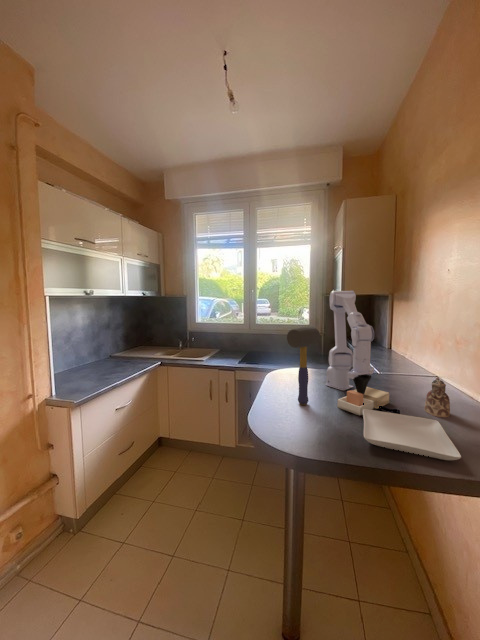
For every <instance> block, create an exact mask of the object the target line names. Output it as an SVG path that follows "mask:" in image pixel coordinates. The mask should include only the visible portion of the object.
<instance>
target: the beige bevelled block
mask: <svg viewBox="0 0 480 640" xmlns="http://www.w3.org/2000/svg"><path fill="white" fill-rule="evenodd" d="M351 390H352V391H355V392H357V390H356V388H355V389H351ZM363 398H365V399H368V400H371V401H374V407H373V409H380V408H379V406H382V407H384V406H386V405H388V404H389V403H390V392H388V391H384V390H380V389H377V388H373V387H369V386H367V387H366V390H365V393H364V395H363Z"/></svg>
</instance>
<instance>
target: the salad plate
mask: <svg viewBox="0 0 480 640" xmlns="http://www.w3.org/2000/svg"><path fill="white" fill-rule="evenodd" d="M362 417H363V418H362V419H363V433H362V434H363V438H364V440H366V441H367V442H368V443H369V444H372V445H375V446H378V447H382V448H384V447H385V449H388V450H389V449H390V450H393V449H394V450H395V451H398V450H399V451H398V452H403V451H404V453H408V452H409V453H408V454H413V453H414V455H418V454H419V455H418V456H423V455H424V456H423V457H428V456H429V457H428V458H434V459H439V460H442V461H443V460H444V461H457V460H460V459H462V455H461V453H460V452H459V450H458V448H457V446H455V444H454V442H453V441H452V440H451V439H450V437H449V435H448V434H447V433H446V430H445V429H444V428H443V426H442V424H441V423H440V422H439V421H438V420H436V419H433V418H432V419H431V418H425V417H419V416H414V415H407V414H400V413H395V412H389V411H383V410H382V411H380V410H374V409H373V410H368V409H363V415H362Z"/></svg>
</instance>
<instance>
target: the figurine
mask: <svg viewBox="0 0 480 640" xmlns="http://www.w3.org/2000/svg"><path fill="white" fill-rule="evenodd" d="M446 386H447V385H446V383H445V382H444V381H443V380H441V379H440V377H435V379H434V380H432V382H431V389H430V390H429V391H428V392H427V393H426V397H425V402H424V406H423V407H424V409H423V410H424V412H426V413H427V414H429V415H430V416H433V417H438V418H449V417H450V415H451V402H450V396H449V395H448V394H447V393H446Z"/></svg>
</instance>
